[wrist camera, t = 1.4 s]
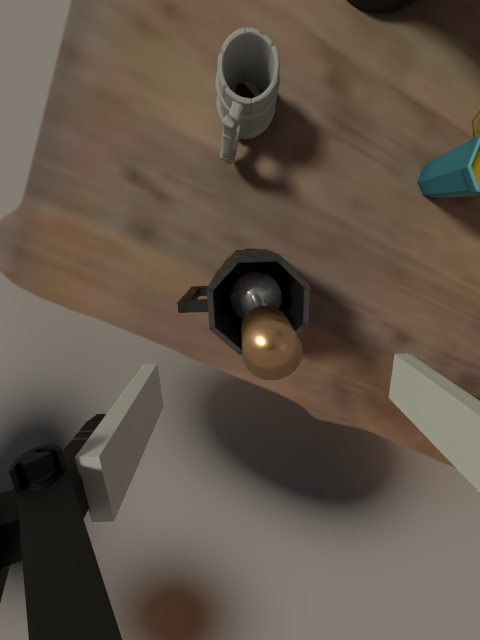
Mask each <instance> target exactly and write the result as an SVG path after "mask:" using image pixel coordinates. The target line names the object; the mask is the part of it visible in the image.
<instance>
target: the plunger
mask: <svg viewBox="0 0 480 640" xmlns="http://www.w3.org/2000/svg"><path fill="white" fill-rule="evenodd" d="M281 298H282V297H281V291H280V288H279V286H278V284H277V283H276V281H275V280H274V279H273V278H272V277H270V276H269V275H267V274H264V273H261V272H251V273H248V274H245V275H243V276H242V277H240V278H239V279H238V280H237V281H236V282H235V284H234V285H233V288H232V290H231V296H230V300H231V306H232V308H233V310H234V312H235V313H236V315H237V316H238V317H240V318H241V319H243V322H242V327H241V332H242V353H243V360H244V363H245V365H246V367H247V369H248V370H249V371H250V372H251V373H252V374H254V375H255V376H257V377H259V378H261V379H265V380H278V379H282V378H284V377H286V376H288V375H290V374H291V373H292V372H294V371H295V370H296V368H297V367H298V366H299V364H300V362H301V359H302V354H303V348H302V344H301V341H300V339H299V337H298V336H297V334H296V332H295V331H294V329H293V327H292V326H291V324H290V323H289V321H288V319H287V318H286V316H285V315H284V313H283V312H281V311H280V310H279V307H280V304H281Z"/></svg>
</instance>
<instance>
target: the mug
mask: <svg viewBox="0 0 480 640" xmlns="http://www.w3.org/2000/svg"><path fill="white" fill-rule="evenodd" d="M279 68H280V64H279V55H278V51H277V48H276V46H275V45H274V42H273V41H272V40H271V39H270V37H269V36H268V35H263V34H262V32H261V31H259V30H257V29H255V28H246V29H245V28H241V29H238V30H236V31H235V32H233V33H232V34H231V35H230V36H229V37H228V38H227V39H226V40H225V42H224V44H223V46H222V51H221V53H219V57H218V70H217V75H216V92H217V104H216V107H217V110H218V115H219V118H220V120H221V122H222V124H223V126H224V127H223V132H222V140H221V151H220V158H221V160H222V161H223V162H225V163H227V164H231V163H233V162H234V159H235V156H236V152H237V145H238V142H239V138H240V139H252V138H254V137H256V136H258V135H260V134H262V133H263V132H264V131H265V130H266V129H267V128H268V126H269V125H270V123H271V121H272V119H273V116H274V113H275V107H276V97H277V94H278V90H279V84H280V76H279ZM243 83H244V84H245V85H246V87H247V88H248V89H249V90H250V91H251V92H252V93H253V94H254V96H255V97H254V98H252V99H251V98H244V97H241V96H239V95H237V94H235V86H237V85H238V84H243ZM258 88H259V89H260V90H261V91H262V92H263V93H262V94H261V93H260V91H259V89H258Z"/></svg>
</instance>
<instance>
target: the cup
mask: <svg viewBox="0 0 480 640" xmlns="http://www.w3.org/2000/svg"><path fill="white" fill-rule="evenodd" d="M472 127H473V138H474V139H472V140H470V141H468V142H467V143H465V144H463V145H461V146H459V147H457V148H455V149H453V150H451V151H450V152H448V153H446V154H444V155H442V156H440V157H438V158H436V159H435V160H433V161H432V162H430V163H429V164H427V165H426V166H424V167H423V169H422V172H421V174H420V177H419V180H418V185H419V187H420V189H421V192H422V194H423V195H424V196H428V197H433V198H448V197H465V196H480V111H479V112H478V113H477V115H476V116H475V117H474V118H473V120H472Z"/></svg>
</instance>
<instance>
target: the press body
mask: <svg viewBox="0 0 480 640" xmlns="http://www.w3.org/2000/svg"><path fill="white" fill-rule="evenodd" d="M251 272H261V273H264V274H267V275H269V276H270V277H272V278H273V279H274V280H275V281H276V283H277V284H278V286H279V288H280V291H281V297H282V298H281V304H280V307H279V310H280V311H281V312H283V313H284V315H285V316H286V318H287V319H288V321H289V323H290V324H291V326H292V327H293V329H294V331H295V332H296V334H297V336H298V335H299V334H300V333H302V332H303V331H304V330H305V329H306V328H307V327H308V325H309V301H310V285H309V284H308V283H307V282H306V281H305V280H304V279H303V278H302V277H301V276H300V275H299V274H298V273H297V272H296V271H295V270H294V269H293V268H292V267H291V266H290V265H289V264H288V263H287V262H286V261H285V260H284V259H283V258H282V257H281V256H280V255H279V254H276V253H274V252H272V251H269V250H267V249H245V250H236V251H235V252H234V253H233V254H232V256H230V257H229V258H228V259H227V260H226V261H225V262H224V264H223V265H222V267H221V268H220V269H219V270H218V271H217V272H216V274H215V276H214V277H213V279H212V281H211V282H210V284H209V286H196V287H191V288H190V289H189V290H188V291H187V293H186V294H185V295H184V296H183V297H182V298H181V299H180V300H179V301H178V302H177V304H178V313H187V312H208V313H209V326H210V330H211V331H212V332H213V333H214V334H216V335H217V336H218V337H219V338H220V339H221V340H223V341H224V342H225V343H226V344H227V345H228V346H230V347H231V348H232V349H233V350H234V351H236V352H237V353H238V354H239V355H243V353H242V332H241V327H242V322H243V319H241V318H240V317H238V316H237V315H236V313H235V312H234V310H233V308H232V306H231V300H230V296H231V290H232V288H233V285H234V284H235V282H236V281H237V280H238V279H239V278H240V277H242V276H243V275H245V274H248V273H251ZM199 296H207V299H199V300H197V299H198V297H199Z"/></svg>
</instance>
